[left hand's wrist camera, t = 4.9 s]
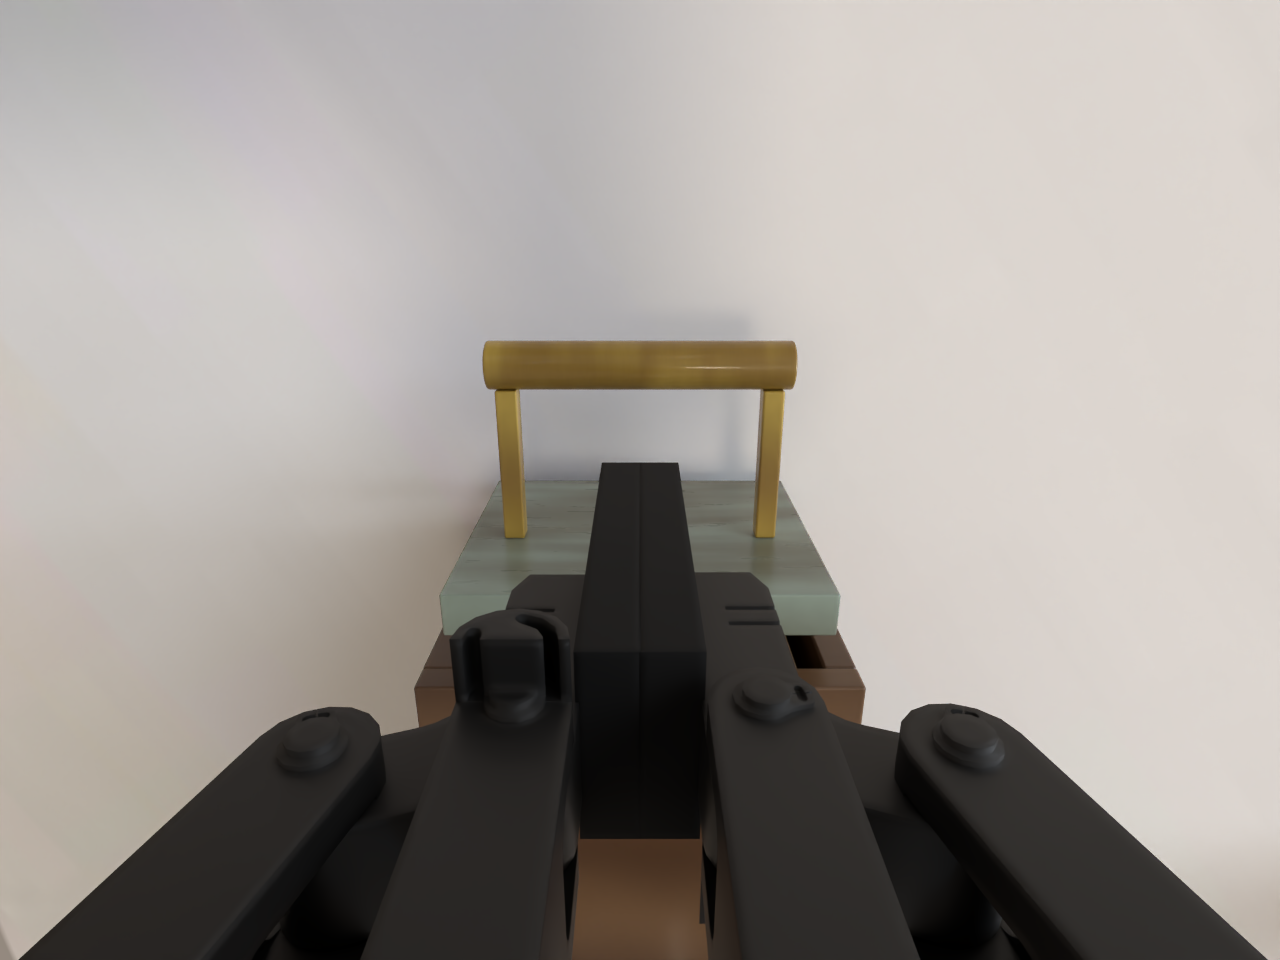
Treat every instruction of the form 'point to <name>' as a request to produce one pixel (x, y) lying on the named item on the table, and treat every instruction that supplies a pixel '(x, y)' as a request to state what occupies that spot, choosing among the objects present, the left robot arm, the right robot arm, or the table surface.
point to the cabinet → (652, 868)
